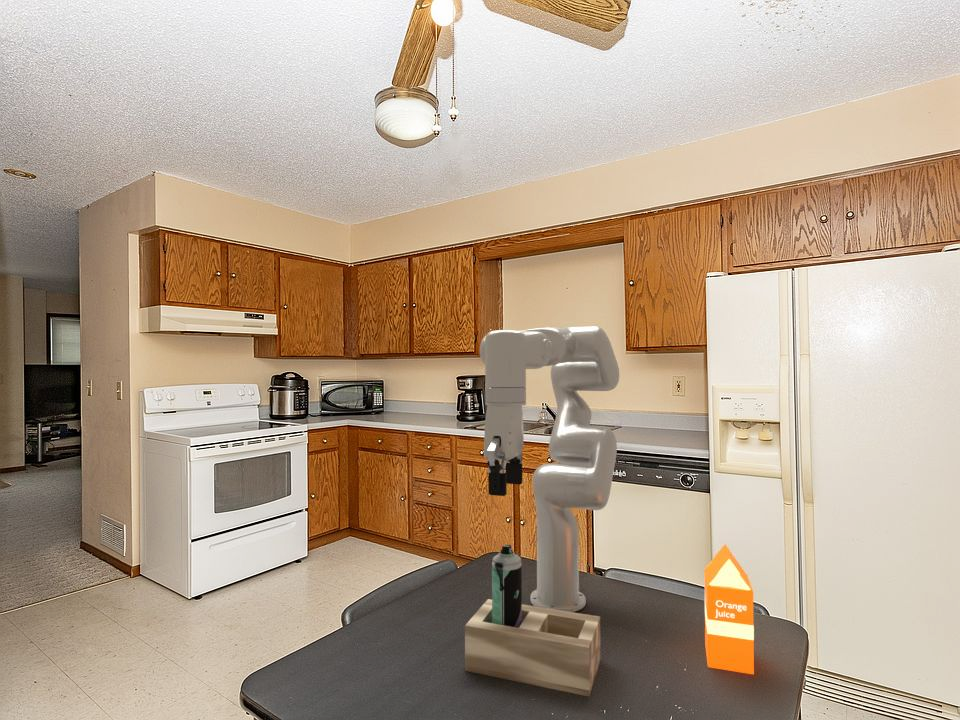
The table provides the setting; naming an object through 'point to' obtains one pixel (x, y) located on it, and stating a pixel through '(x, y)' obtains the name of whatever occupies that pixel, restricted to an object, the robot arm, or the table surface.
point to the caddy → (536, 648)
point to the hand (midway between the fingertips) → (506, 489)
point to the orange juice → (728, 615)
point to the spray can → (507, 588)
